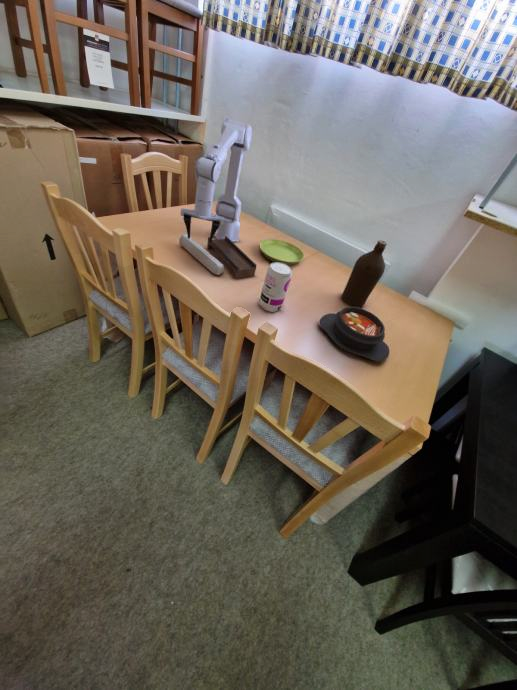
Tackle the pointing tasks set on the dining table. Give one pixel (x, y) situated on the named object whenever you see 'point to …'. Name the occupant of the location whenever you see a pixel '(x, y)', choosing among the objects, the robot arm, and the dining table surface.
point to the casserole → (357, 332)
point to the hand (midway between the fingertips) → (199, 239)
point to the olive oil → (364, 276)
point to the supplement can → (275, 286)
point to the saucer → (281, 251)
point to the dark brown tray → (233, 257)
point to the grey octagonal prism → (201, 254)
